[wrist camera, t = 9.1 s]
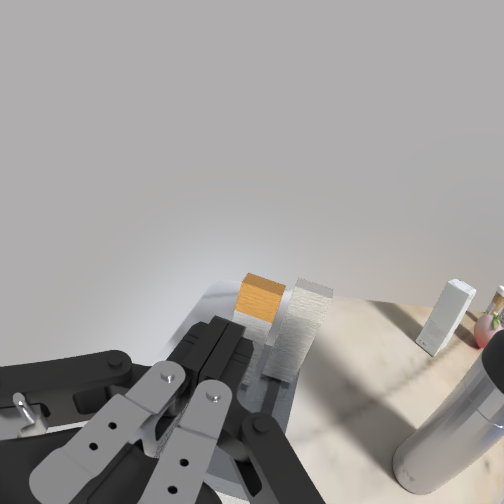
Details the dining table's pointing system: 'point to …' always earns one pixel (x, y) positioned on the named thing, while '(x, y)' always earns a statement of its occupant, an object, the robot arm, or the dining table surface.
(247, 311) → the knob orange
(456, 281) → the skincare box
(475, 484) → the dining table surface
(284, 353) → the grey upright block
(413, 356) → the dining table surface
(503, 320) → the french press
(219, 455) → the console
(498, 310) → the sprinkles bottle
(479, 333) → the decorative fruit
